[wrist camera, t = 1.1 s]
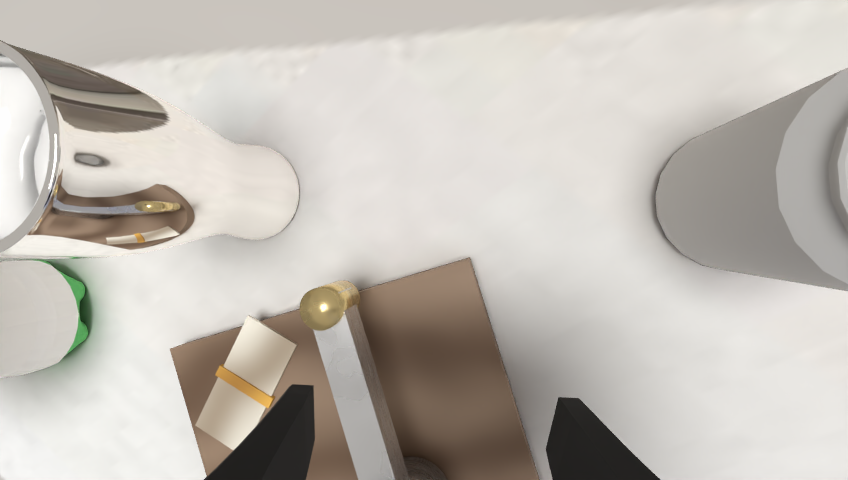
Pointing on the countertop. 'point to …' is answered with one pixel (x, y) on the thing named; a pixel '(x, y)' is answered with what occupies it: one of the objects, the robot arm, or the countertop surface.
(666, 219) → the can
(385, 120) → the countertop surface
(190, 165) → the beer glass
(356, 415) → the grey bar with knobs
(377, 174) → the countertop surface
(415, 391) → the brown flat wooden board
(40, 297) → the cup
